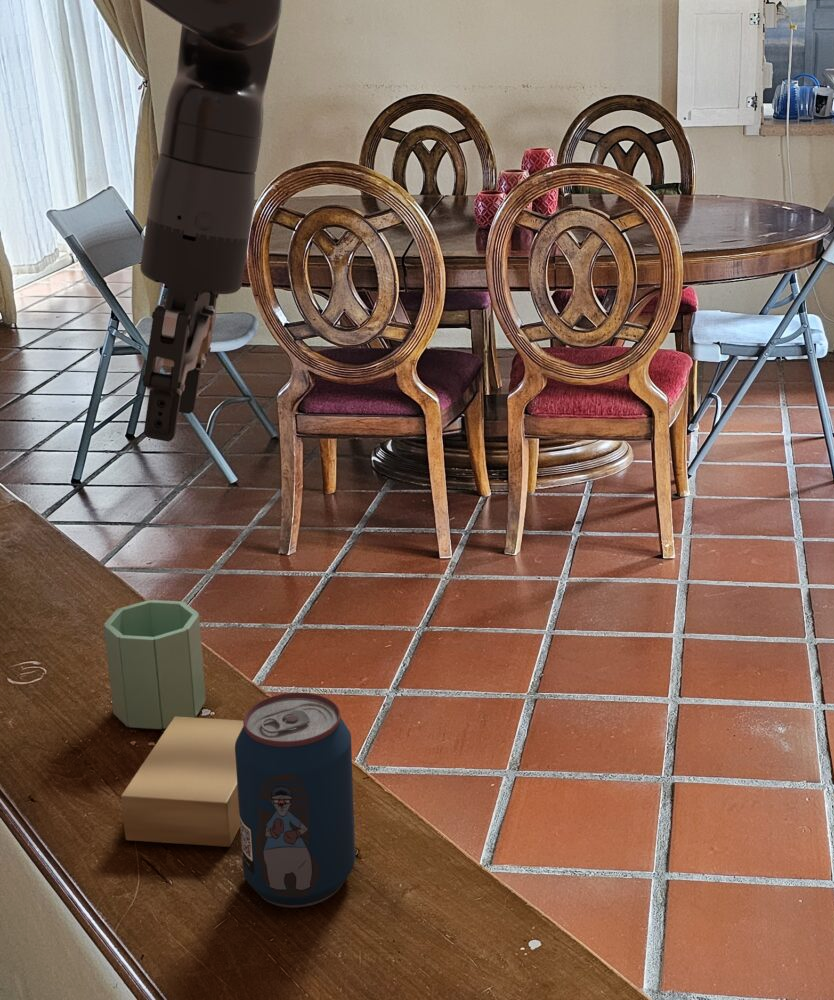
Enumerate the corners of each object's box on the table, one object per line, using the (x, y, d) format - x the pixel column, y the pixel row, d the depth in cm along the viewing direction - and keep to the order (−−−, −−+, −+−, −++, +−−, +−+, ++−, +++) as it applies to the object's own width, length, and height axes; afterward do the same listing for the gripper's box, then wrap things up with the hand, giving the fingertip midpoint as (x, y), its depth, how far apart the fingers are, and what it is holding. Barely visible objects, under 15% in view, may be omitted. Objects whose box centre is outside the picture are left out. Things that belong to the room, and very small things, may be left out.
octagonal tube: (103, 730, 98) (135, 688, 104) (187, 735, 98) (214, 692, 104) (92, 636, 95) (125, 598, 101) (179, 641, 95) (207, 602, 101)
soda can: (330, 833, 87) (324, 677, 83) (373, 891, 82) (369, 727, 78) (229, 866, 84) (216, 704, 79) (267, 929, 78) (256, 759, 74)
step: (178, 757, 95) (174, 715, 94) (272, 763, 95) (270, 721, 93) (125, 840, 86) (120, 796, 84) (230, 847, 85) (226, 802, 84)
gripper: (167, 202, 105) (140, 394, 109) (127, 221, 91) (98, 438, 96) (261, 223, 106) (231, 412, 111) (235, 244, 93) (202, 458, 97)
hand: (169, 424), depth 103 cm, fingers open, 8 cm apart
